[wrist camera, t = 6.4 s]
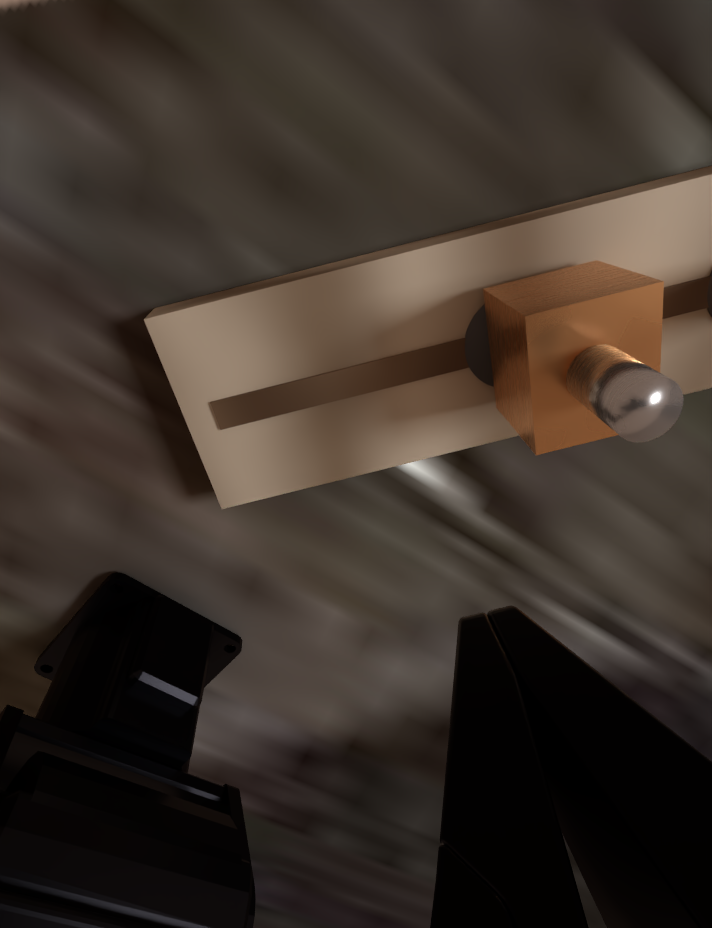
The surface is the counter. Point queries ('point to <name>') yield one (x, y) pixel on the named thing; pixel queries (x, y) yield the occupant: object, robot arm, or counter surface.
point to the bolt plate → (411, 339)
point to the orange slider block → (580, 356)
